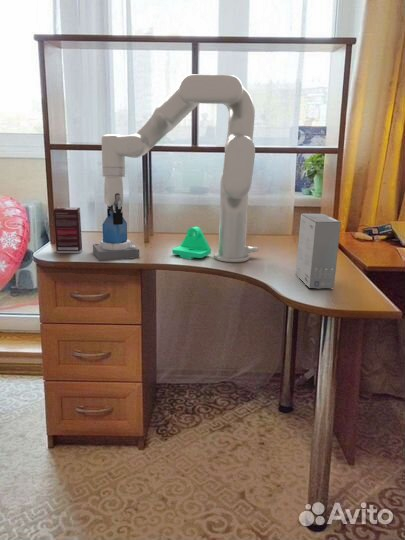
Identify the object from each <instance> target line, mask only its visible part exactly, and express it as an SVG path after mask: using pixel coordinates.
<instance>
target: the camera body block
mask: <svg viewBox="0 0 405 540" xmlns="http://www.w3.org/2000/svg"><path fill="white" fill-rule="evenodd" d="M99 242H100V243H98V242H97V243H93V244H92V252H93V254H94V255H95V257H96V258H97V260H98V261H109V260H111V261H112V260H123V259H138V258H140V248H139V247H138V246H136V244H134V243H132V242H131V240H130V239H128V238H127V241H124V242H122V243H119V244H116V243H107V242H103V239H102V240H100V241H99Z"/></svg>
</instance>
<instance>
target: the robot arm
mask: <svg viewBox="0 0 405 540" xmlns="http://www.w3.org/2000/svg"><path fill="white" fill-rule="evenodd" d="M242 83H243V82H242V81H241V80H240V79H239V78H238V77H237V76H235V75H232V74H204V73H203V74H201V73H199V74H198V73H197V74H195V73H194V74H193V73H191V74H188V75H185V76H184V77H183V78H182V79H181V80H180V82H179V85H178V86H177V87H176V88H175V89H174V90H173V91H172V92H171V93H170V94H169V95H168V96H167V97H166V98H165V99H164V100H163V101H161V103H159V105H157V107H156V108H155V110H154V111H153V113H152V115H151V116H150V118H149V119H148V120H147V121H146V122H145V123H144V124H143V125H142V126H141V127H140V128H139V129H138V131H136V132H135V133H133V134H127V135H125V134H123V135H122V134H113V133H111V134H103V135H102V136H101V162H102V164H101V167H102V177H103V178H104V186H103V188H104V189H103V192H104V193H103V197H104V198H103V199H104V201H103V202H104V204H105V205H107V207H106V208H107V210H106V212H107V213H106V214H107V215H106V216H107V217H109V216H110V207H113V210H114V213H113V224H114V225H120V224H123V218H124V214H123V213H124V212H123V211H124V210H123V206H124V183H123V178H125V177H126V161H125V159H126V158H132V159H137V158H141V157H143V156H144V155H146V154H148V152H150V150H152V149H153V148H154V147H155V146H156V145H157V144H158V143H160V141H161V140H162V139H163V138H164V137H165V136H166V135H167V134H169V133H170V132H172V130H173V129H174V128H176V126H178V125H179V124H180V122H182V121H183V119H184V118H186V117H187V116H188V115H189V114H190V113H191V112H192V111H193V110H194V109H195V108H196V107H198V106H199V105H200V104H213V105H214V104H215V105H216V104H218V105H219V104H220V105H221V104H222V105H224V106H225V107H226V109H227V111H228V122H227V123H228V124H227V125H228V126H227V134H226V135H227V136H226V141H225V145H224V160H223V169H222V174H221V178H220V185H219V188H220V194H219V195H220V197H219V199H220V200H219V201H220V202H219V204H220V205H219V222H218V223H219V224H218V225H219V226H218V250H217V252H214V254H213V258H214V259H215V260H217V261H221V262H226V263H242V262H243V263H244V262H247V261H249V260H250V255H249V254H251V253H258V251H259V248H258V246H251V245H250V246H248V245H247V244H246V243H247V241H246V240H247V225H248V222H247V221H248V209H249V192H250V190H251V188H252V183H253V182H252V181H253V173H254V168H255V167H254V166H255V157H256V147H255V143H254V141H253V140H254V138H253V137H254V131H255V129H254V128H255V116H256V115H255V111H256V110H255V105H254V102H253V99H252V96H251V94H250V93H249V91H248V90H247V89H246V87H244V86H243V84H242ZM115 207H116V208H115ZM107 217H106V218H107Z"/></svg>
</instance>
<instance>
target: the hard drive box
mask: <svg viewBox="0 0 405 540" xmlns="http://www.w3.org/2000/svg"><path fill="white" fill-rule="evenodd" d="M341 225H342V222H341V221H339V220H338V219H335V218H333V217H331V216H329V215H327V214H324V213H300V220H299V231H298V233H299V234H298V244H297V256H296V266H295V267H296V268H295V269H296V270H295V275H296V277H297V276H298V277H299V278H300V279H301V280H302V281H303V282H304V283H305V284H306V285H307V286H308V287H309V288H334V289H335V280H336V272H337V262H338V261H337V260H338V252H339V242H340V234H341V233H340V232H341V227H342V226H341ZM298 277H297V278H298ZM299 278H298V279H299ZM300 279H299V280H300ZM301 280H300V281H301ZM302 281H301V282H302ZM303 282H302V283H303ZM304 283H303V284H304ZM305 284H304V285H305Z"/></svg>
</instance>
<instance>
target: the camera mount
mask: <svg viewBox="0 0 405 540" xmlns="http://www.w3.org/2000/svg"><path fill="white" fill-rule="evenodd" d="M171 251H172V254H173V255H179V257H180V258H182V259H188V260H193V259H195V258H197V259H202V258H204V257H206V256H208V255H211V254H212V249H211V247H210V245H209V243H208V240H207V239H206V236H205V235H204V233H203V229H201V227H199V226H193V227H190V228H188V230H187V231H186V235H185V237H184V239H183V241H182V242H181V244H180V246H176V247H174V248H172V250H171Z"/></svg>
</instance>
